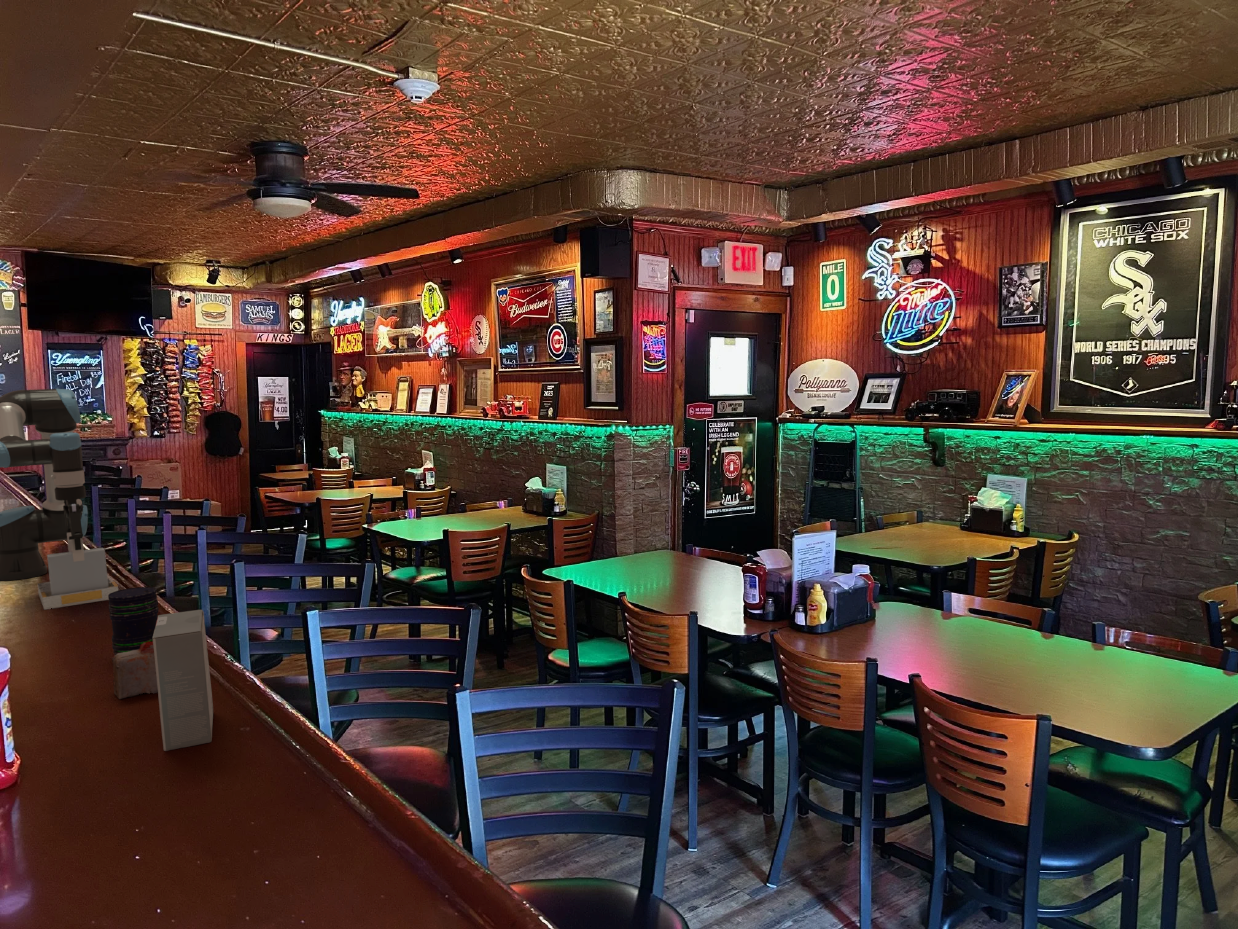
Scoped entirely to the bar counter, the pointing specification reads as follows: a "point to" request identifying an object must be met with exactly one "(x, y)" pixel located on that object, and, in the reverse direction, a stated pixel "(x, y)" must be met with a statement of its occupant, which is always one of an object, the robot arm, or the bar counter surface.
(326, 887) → the bar counter surface
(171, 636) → the hard drive box
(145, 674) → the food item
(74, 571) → the blanking panel
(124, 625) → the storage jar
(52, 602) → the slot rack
